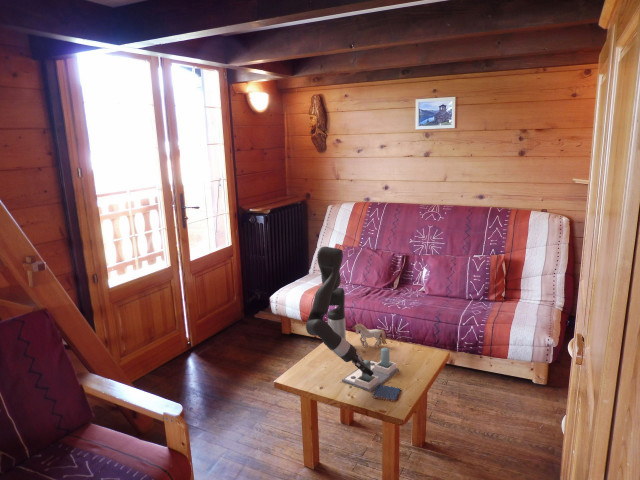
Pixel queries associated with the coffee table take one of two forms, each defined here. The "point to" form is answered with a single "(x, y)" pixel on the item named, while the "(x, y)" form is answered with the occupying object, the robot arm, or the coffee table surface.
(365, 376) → the teal peg
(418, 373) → the coffee table surface
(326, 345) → the robot arm
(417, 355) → the coffee table surface
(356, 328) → the unicorn figurine
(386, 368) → the peg board
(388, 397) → the woven mat
